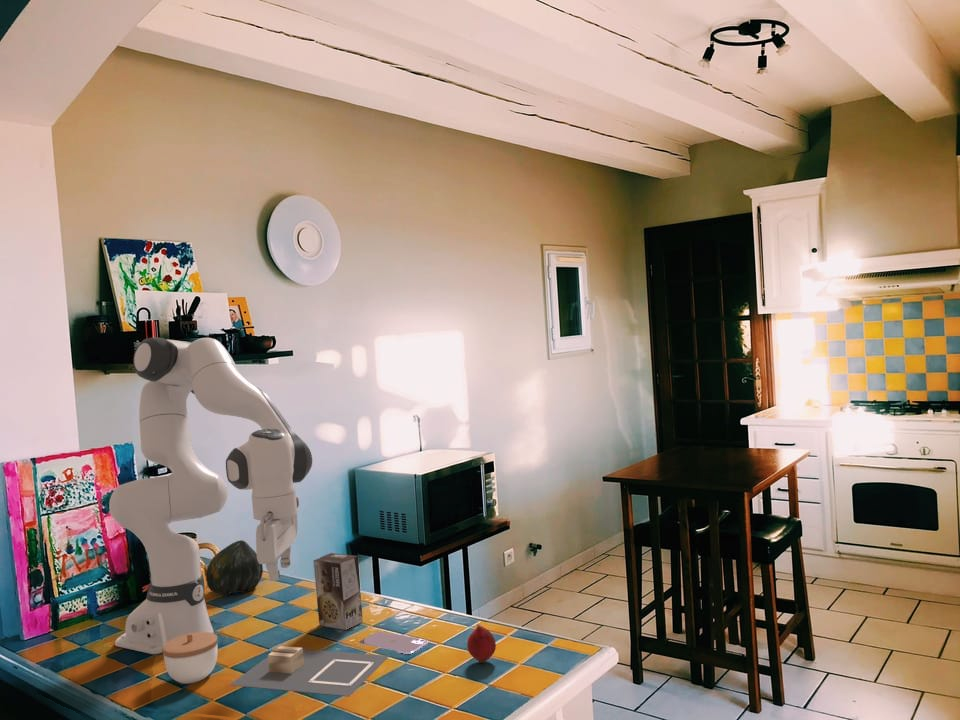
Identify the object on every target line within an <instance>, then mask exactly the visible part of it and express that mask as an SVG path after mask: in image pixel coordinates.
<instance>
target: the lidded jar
mask: <svg viewBox="0 0 960 720" xmlns="http://www.w3.org/2000/svg"><path fill="white" fill-rule="evenodd" d="M218 642H219V641H218V635H217V634H216V633H214V632H213V633H210V632H195V633H189V634H185V635H182V636H179V637H176V638H174V639H172V640H170V641H168V642H167V643H165V644H164V646H163V648H162V651H163V652H162V654H163V661H164V666H165V669H166V672H167V674H168V676H169V677H171V679H172V680H174V681H175V682H177V683H179V684H183V685H185V684H186V685H187V684H193V683H197V682H200V681H202V680H204V679H206V678H207V677H208V676H209V675H210V674H211V672H213V671H214V669H215V667H216V664H217V661H218V651H219V650H218V649H219V648H218Z"/></svg>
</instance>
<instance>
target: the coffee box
mask: <svg viewBox="0 0 960 720" xmlns="http://www.w3.org/2000/svg"><path fill="white" fill-rule="evenodd" d="M313 570H314V582H315V592H316V603H317V612H318V624H319V626H320V625H321V627H326V628H332V629H337V630H344V631H348V630H350V629H351V627H352V628H353V627H356V626H357V625H359V624H361V623H363V622H364V619H363V608H362V598H361V597H362V595H361V583H360V582H361V581H360V571H359V570H360V569H359V556H358V555H352V554H343V553H333V552H330V553H327V554H325V555H322V556H320V557H319V558H316V559H314V560H313ZM349 628H350V629H349ZM347 629H348V630H347Z"/></svg>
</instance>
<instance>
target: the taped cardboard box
mask: <svg viewBox="0 0 960 720" xmlns="http://www.w3.org/2000/svg"><path fill="white" fill-rule="evenodd" d="M303 649H304V648H303V647H301V646H300V647H298V646H297V647H296V646H283V645H280V646H278V647H276V648H274V650H272V651H271V652H270V653H269V654H267V657H268V663H269V672H279V673H291V674H292V673H294V672H295V671H296V670H297V669H298V668H300V667H301V666H302V665H303V664H304V659H303Z"/></svg>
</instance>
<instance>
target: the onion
mask: <svg viewBox="0 0 960 720" xmlns="http://www.w3.org/2000/svg"><path fill="white" fill-rule="evenodd" d="M496 644H497V643H496V639H495V637H494V635H493V634H492V633H491V631H490V630H489V629H487V628H485V627H484V626H483V625H481V623H477V624H476V628H475V629H473V631H472V632H471V633H470V634H469V635H468V639H467V644H466V645H467V646H466V647H467V651H468V653H469V654H470V656H471V657H472V658H474V659H475V660H476V661H478V662H479V663H481V664H482V663H485V662H486V661H488V660H489V659H490V658H491V657H492V656H493V655H494V654H495V651H496V649H497V645H496Z"/></svg>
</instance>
